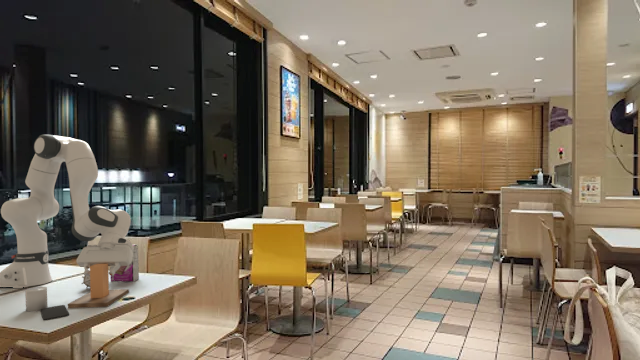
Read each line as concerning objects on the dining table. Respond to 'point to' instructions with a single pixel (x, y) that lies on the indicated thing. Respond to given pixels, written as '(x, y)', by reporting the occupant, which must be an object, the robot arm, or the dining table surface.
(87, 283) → the spiked faceted ball
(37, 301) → the white rounded cube
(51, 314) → the phone
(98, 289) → the orange block
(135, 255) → the candy bar box
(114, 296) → the walnut board
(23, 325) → the dining table surface
